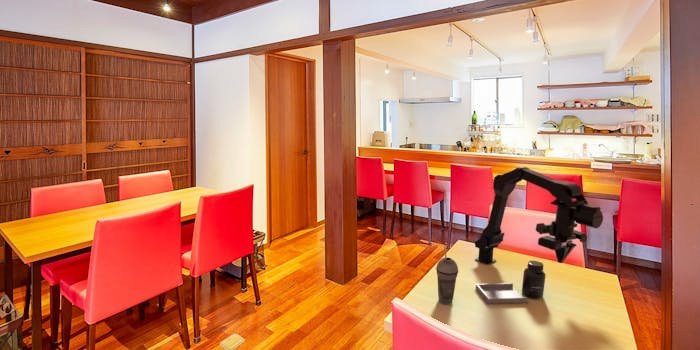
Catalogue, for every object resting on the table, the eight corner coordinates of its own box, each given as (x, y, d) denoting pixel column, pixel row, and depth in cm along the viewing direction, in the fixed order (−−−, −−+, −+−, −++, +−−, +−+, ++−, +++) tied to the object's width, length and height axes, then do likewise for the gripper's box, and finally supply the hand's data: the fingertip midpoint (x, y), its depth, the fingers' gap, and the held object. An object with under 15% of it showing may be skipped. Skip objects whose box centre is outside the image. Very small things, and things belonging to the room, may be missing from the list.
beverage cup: (453, 309, 116) (456, 251, 112) (431, 303, 120) (434, 247, 116) (459, 299, 122) (462, 244, 118) (438, 293, 126) (440, 240, 122)
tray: (511, 287, 130) (512, 282, 129) (527, 303, 120) (528, 297, 119) (475, 289, 129) (476, 283, 129) (488, 304, 119) (488, 298, 118)
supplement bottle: (534, 301, 120) (538, 268, 118) (517, 292, 126) (520, 261, 124) (547, 297, 123) (551, 264, 121) (529, 288, 129) (532, 257, 127)
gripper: (559, 210, 132) (554, 249, 135) (525, 217, 123) (521, 259, 126) (590, 218, 122) (585, 260, 125) (556, 226, 114) (551, 271, 116)
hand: (560, 262), depth 123 cm, fingers closed
